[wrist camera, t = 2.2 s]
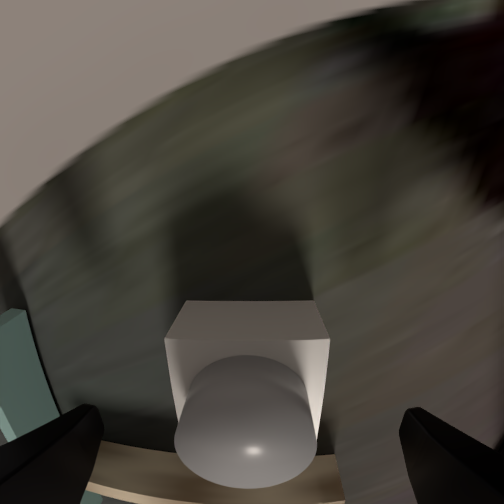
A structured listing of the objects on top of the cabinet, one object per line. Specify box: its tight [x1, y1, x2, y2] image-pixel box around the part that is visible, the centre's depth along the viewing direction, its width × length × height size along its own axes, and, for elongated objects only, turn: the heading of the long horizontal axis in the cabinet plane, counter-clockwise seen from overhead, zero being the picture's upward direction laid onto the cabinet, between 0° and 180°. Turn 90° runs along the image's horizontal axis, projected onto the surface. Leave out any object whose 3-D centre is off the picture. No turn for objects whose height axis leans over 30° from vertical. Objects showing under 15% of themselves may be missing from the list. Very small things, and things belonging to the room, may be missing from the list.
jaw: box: [164, 300, 330, 489], centre depth 9 cm, size 4×4×5 cm
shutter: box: [0, 308, 103, 504], centre depth 11 cm, size 1×14×4 cm, turn 0°
